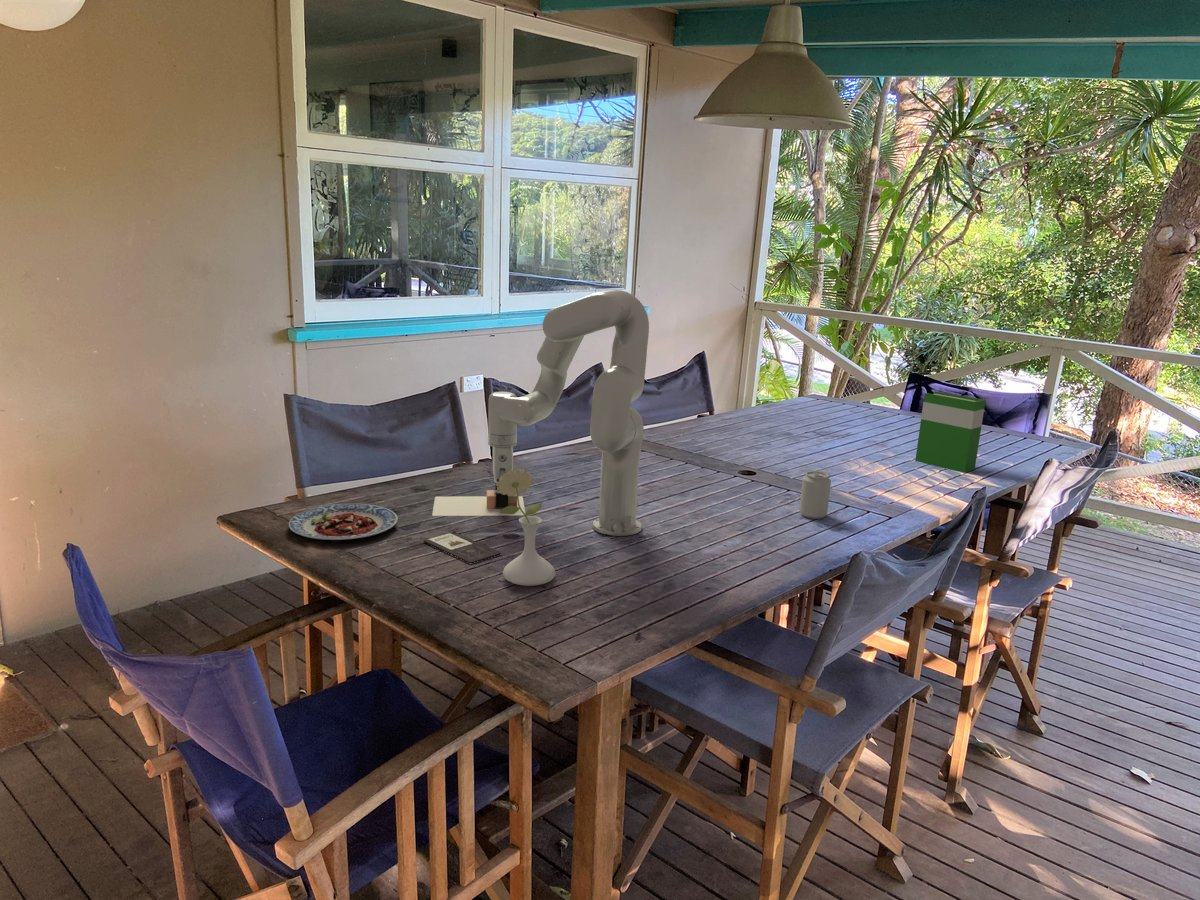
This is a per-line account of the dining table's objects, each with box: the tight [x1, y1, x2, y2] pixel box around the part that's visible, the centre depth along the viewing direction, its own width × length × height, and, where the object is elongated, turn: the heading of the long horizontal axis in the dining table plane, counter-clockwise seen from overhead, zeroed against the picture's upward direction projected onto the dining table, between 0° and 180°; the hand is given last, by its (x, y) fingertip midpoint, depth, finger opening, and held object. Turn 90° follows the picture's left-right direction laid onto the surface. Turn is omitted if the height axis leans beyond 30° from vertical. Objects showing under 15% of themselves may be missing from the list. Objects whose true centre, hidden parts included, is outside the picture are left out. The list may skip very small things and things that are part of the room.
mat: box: [431, 495, 526, 517], centre depth 230 cm, size 16×24×1 cm, turn 98°
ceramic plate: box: [288, 503, 399, 541], centre depth 212 cm, size 26×26×3 cm
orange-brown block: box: [486, 489, 517, 509], centre depth 230 cm, size 6×8×4 cm
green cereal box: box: [914, 390, 986, 474], centre depth 291 cm, size 18×7×24 cm, turn 42°
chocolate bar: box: [423, 531, 502, 564], centre depth 202 cm, size 9×1×18 cm
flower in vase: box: [496, 468, 556, 587], centre depth 182 cm, size 13×11×25 cm
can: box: [798, 470, 832, 520], centre depth 235 cm, size 8×8×12 cm
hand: (501, 501), depth 231 cm, fingers open, 8 cm apart
